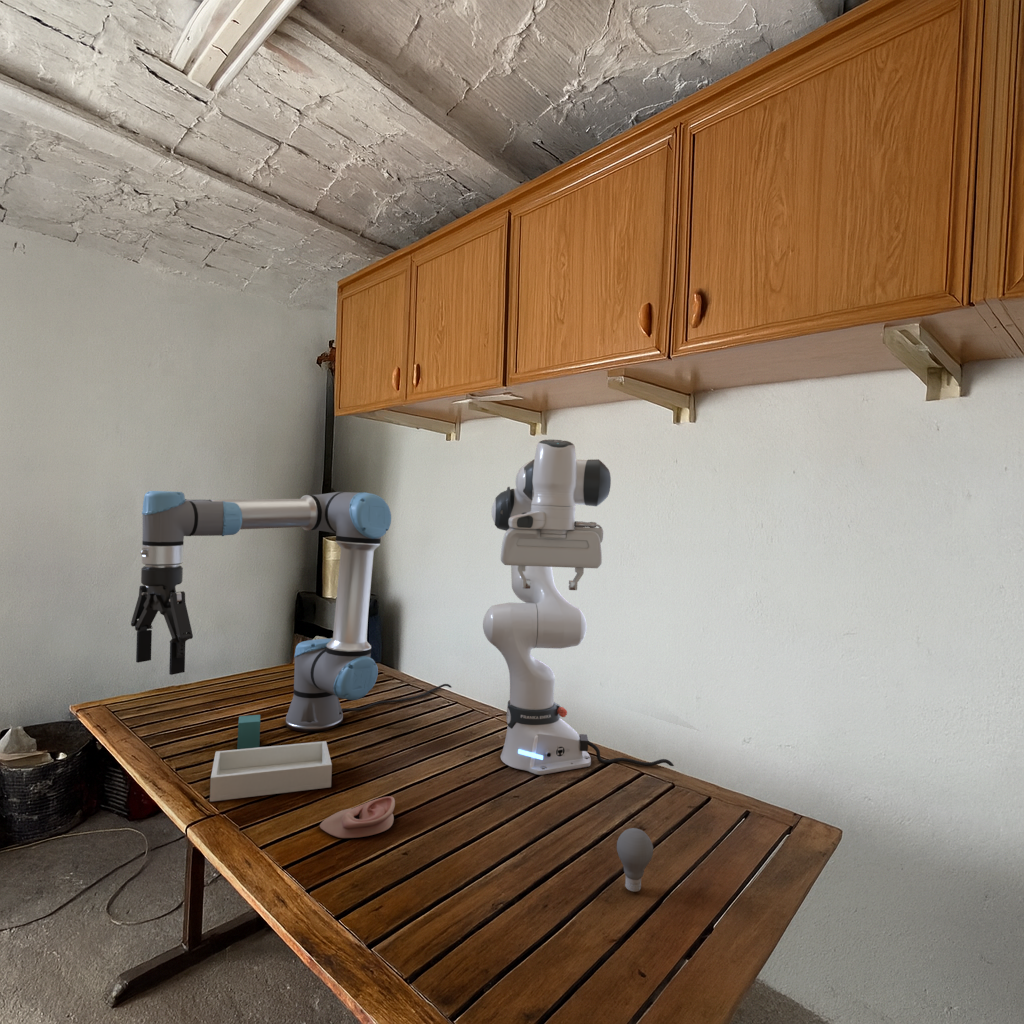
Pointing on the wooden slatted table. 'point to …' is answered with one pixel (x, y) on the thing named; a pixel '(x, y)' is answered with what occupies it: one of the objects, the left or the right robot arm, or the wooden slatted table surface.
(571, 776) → the wooden slatted table surface
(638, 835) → the light bulb
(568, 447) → the right robot arm
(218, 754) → the tray
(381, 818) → the anatomical model
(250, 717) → the block
